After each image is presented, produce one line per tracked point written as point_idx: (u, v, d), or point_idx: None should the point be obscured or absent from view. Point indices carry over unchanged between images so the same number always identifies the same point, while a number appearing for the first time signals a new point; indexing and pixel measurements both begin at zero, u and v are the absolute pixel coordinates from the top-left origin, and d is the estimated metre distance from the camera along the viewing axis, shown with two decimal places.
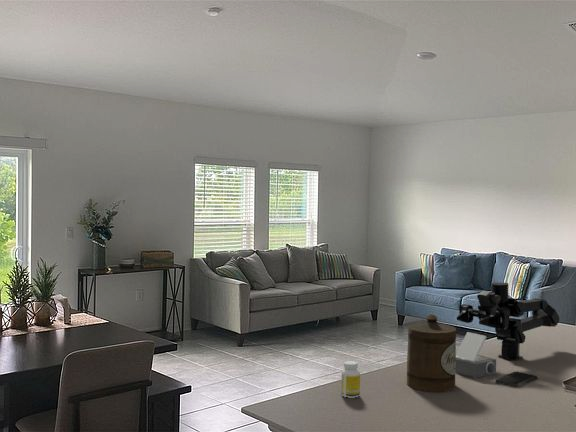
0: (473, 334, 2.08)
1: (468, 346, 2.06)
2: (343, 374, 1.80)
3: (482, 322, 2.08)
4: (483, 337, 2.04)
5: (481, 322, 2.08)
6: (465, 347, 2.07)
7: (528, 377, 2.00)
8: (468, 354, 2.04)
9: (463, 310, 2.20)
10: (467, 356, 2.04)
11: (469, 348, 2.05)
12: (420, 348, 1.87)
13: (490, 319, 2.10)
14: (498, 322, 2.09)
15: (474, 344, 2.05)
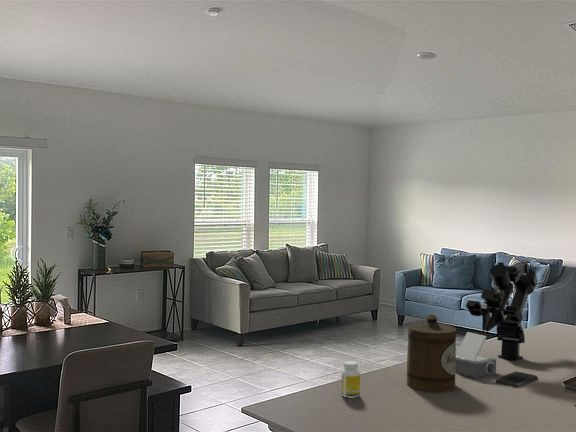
0: (473, 334, 2.08)
1: (468, 346, 2.06)
2: (343, 374, 1.80)
3: (489, 328, 2.09)
4: (483, 337, 2.04)
5: (488, 329, 2.09)
6: (465, 347, 2.07)
7: (528, 377, 2.00)
8: (468, 354, 2.04)
9: (483, 314, 2.13)
10: (467, 356, 2.04)
11: (469, 348, 2.05)
12: (420, 348, 1.87)
13: (494, 320, 2.10)
14: (501, 318, 2.10)
15: (474, 344, 2.05)
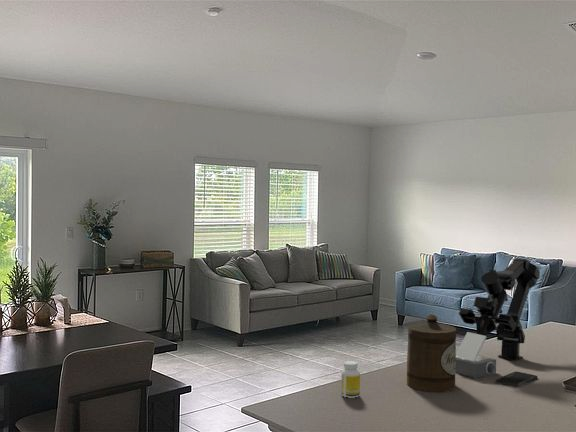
0: (473, 334, 2.08)
1: (468, 346, 2.06)
2: (343, 374, 1.80)
3: None
4: (483, 337, 2.04)
5: None
6: (465, 347, 2.07)
7: (528, 377, 2.00)
8: (468, 354, 2.04)
9: (477, 322, 2.10)
10: (467, 356, 2.04)
11: (469, 348, 2.05)
12: (420, 348, 1.87)
13: (485, 328, 2.08)
14: (493, 326, 2.08)
15: (474, 344, 2.05)
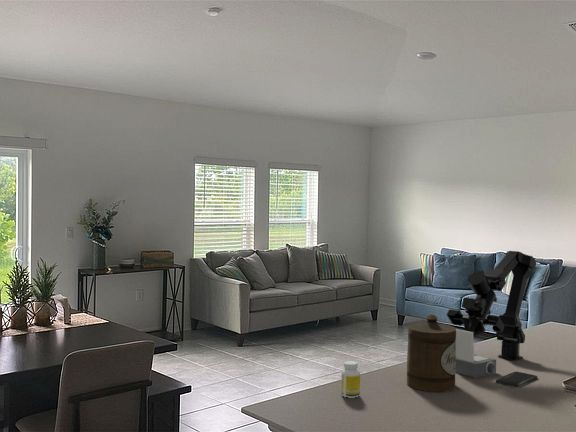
0: (460, 331, 2.04)
1: (461, 345, 2.04)
2: (343, 374, 1.80)
3: None
4: (470, 334, 2.01)
5: None
6: (459, 347, 2.05)
7: (528, 377, 2.00)
8: (465, 355, 2.03)
9: (465, 323, 2.06)
10: (465, 357, 2.03)
11: (463, 348, 2.03)
12: (420, 348, 1.87)
13: (473, 329, 2.04)
14: (481, 327, 2.05)
15: (465, 343, 2.02)
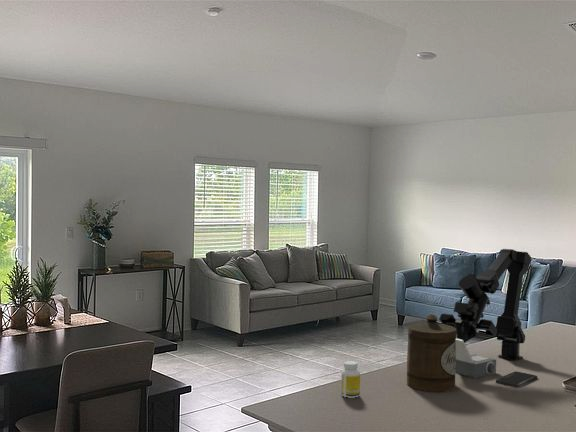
0: None
1: (456, 350, 2.03)
2: (343, 374, 1.80)
3: None
4: (461, 342, 1.98)
5: None
6: None
7: (528, 377, 2.00)
8: (463, 357, 2.02)
9: (458, 328, 2.04)
10: (464, 359, 2.03)
11: (459, 352, 2.02)
12: (420, 348, 1.87)
13: (466, 334, 2.02)
14: (474, 331, 2.03)
15: (459, 348, 2.01)
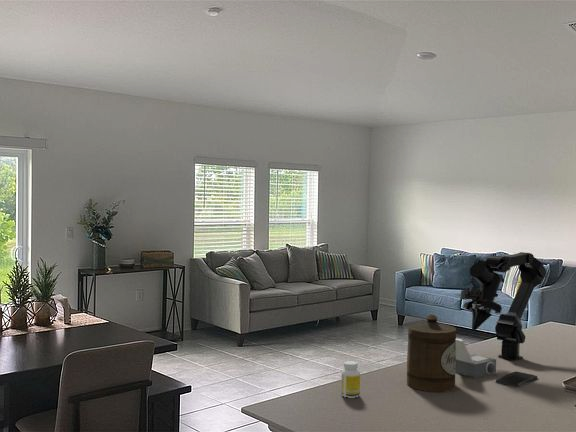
0: None
1: (456, 350, 2.03)
2: (343, 374, 1.80)
3: (476, 327, 2.14)
4: (461, 342, 1.98)
5: (475, 328, 2.14)
6: None
7: (528, 377, 2.00)
8: (463, 357, 2.02)
9: (472, 313, 2.17)
10: (464, 359, 2.03)
11: (459, 352, 2.02)
12: (420, 348, 1.87)
13: (478, 317, 2.14)
14: (485, 313, 2.13)
15: (459, 348, 2.01)
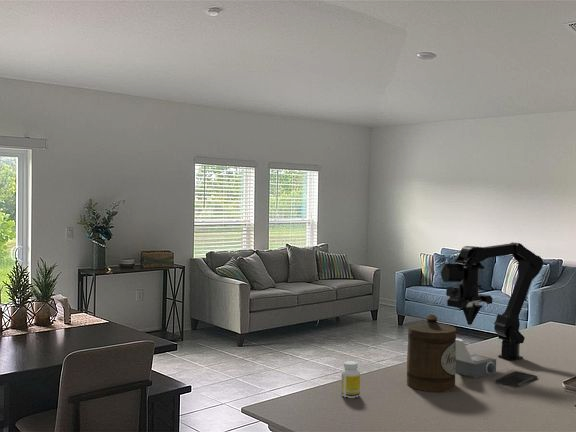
0: None
1: (456, 350, 2.03)
2: (343, 374, 1.80)
3: (468, 321, 2.22)
4: (461, 342, 1.98)
5: (468, 323, 2.22)
6: None
7: (528, 377, 2.00)
8: (463, 357, 2.02)
9: None
10: (464, 359, 2.03)
11: (459, 352, 2.02)
12: (420, 348, 1.87)
13: (466, 312, 2.22)
14: (465, 307, 2.20)
15: (459, 348, 2.01)
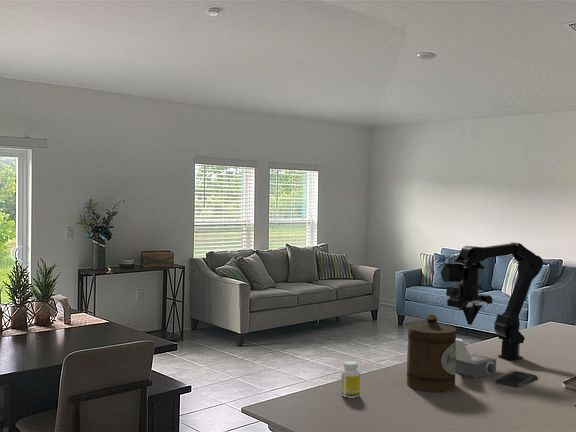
0: None
1: (456, 350, 2.03)
2: (343, 374, 1.80)
3: (468, 321, 2.22)
4: (461, 342, 1.98)
5: (468, 323, 2.22)
6: None
7: (528, 377, 2.00)
8: (463, 357, 2.02)
9: None
10: (464, 359, 2.03)
11: (459, 352, 2.02)
12: (420, 348, 1.87)
13: (466, 312, 2.22)
14: (465, 307, 2.20)
15: (459, 348, 2.01)
